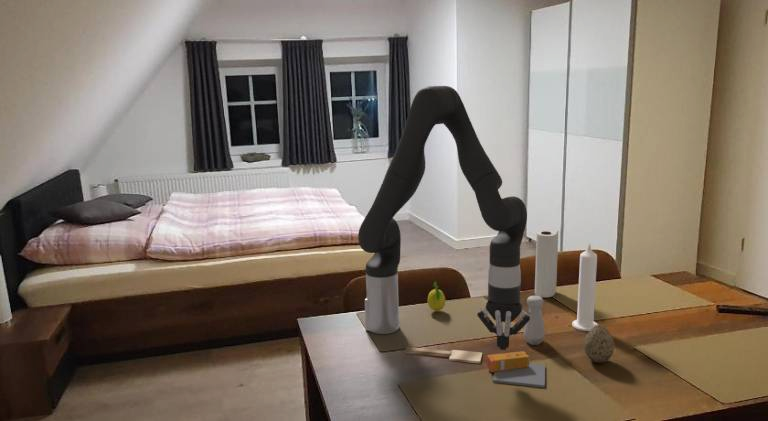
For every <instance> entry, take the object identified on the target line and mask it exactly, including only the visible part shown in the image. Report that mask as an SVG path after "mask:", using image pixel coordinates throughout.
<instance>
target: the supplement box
mask: <svg viewBox="0 0 768 421" xmlns="http://www.w3.org/2000/svg"><path fill="white" fill-rule="evenodd" d="M529 363H530V355H528V354H527V353H526V352H525V351H514V352H513V351H512V352H504V353H496V354H495V353H494V354H488V355H486V367H487V368H488V370H489V371H490V372H491V373H494V372H495V371H502V370H510V369H518V368H526V367H529Z"/></svg>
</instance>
